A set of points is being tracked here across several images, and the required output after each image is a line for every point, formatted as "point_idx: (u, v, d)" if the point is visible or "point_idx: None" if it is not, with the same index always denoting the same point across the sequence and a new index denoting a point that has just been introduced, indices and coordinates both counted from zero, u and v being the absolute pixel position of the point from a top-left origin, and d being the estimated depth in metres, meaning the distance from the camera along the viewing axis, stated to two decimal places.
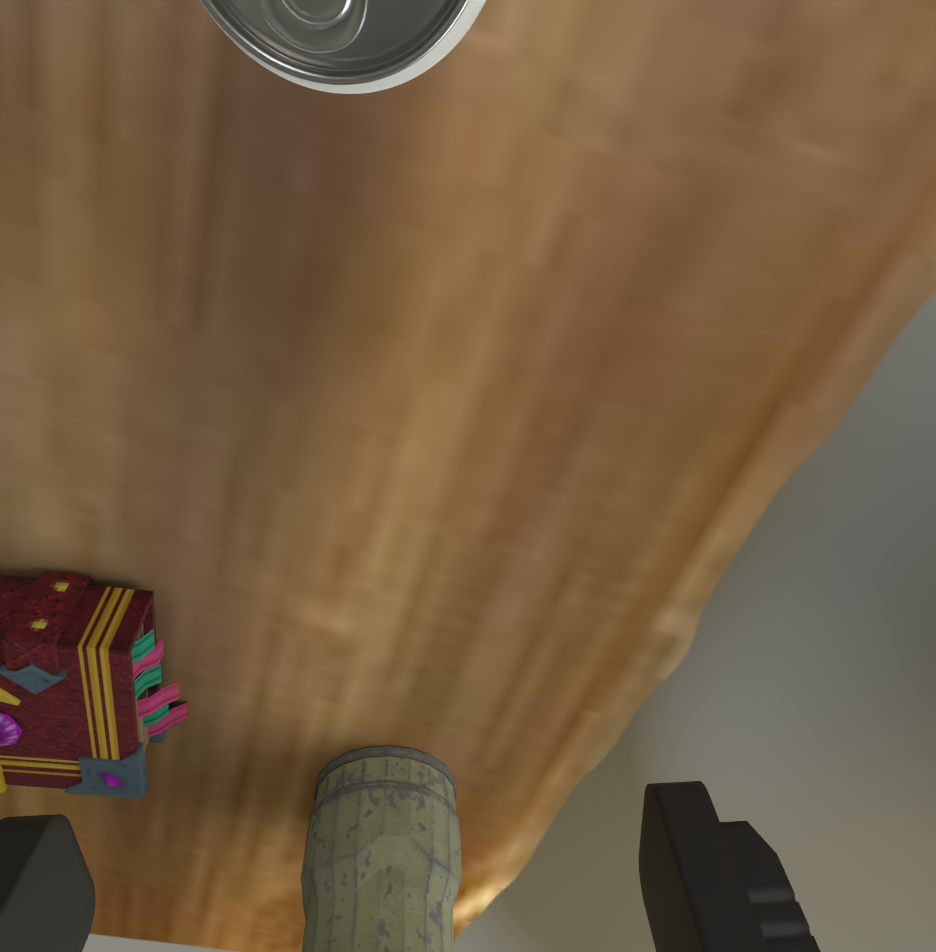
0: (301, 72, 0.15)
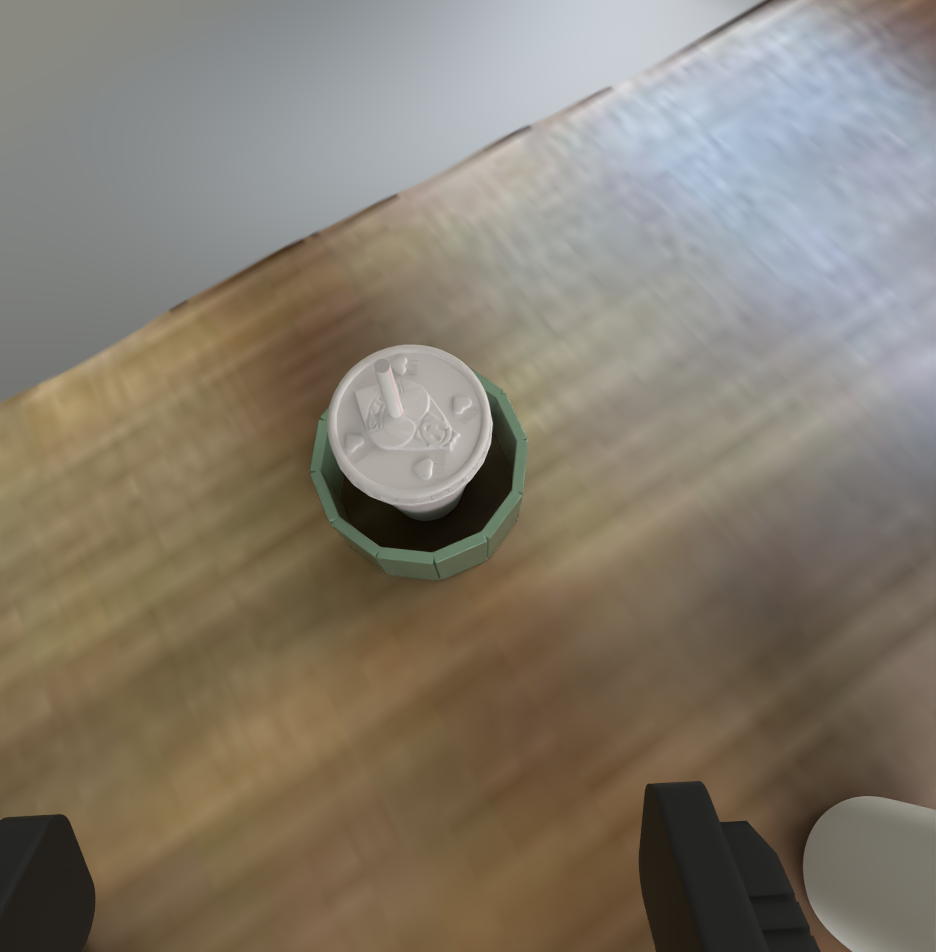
0: None
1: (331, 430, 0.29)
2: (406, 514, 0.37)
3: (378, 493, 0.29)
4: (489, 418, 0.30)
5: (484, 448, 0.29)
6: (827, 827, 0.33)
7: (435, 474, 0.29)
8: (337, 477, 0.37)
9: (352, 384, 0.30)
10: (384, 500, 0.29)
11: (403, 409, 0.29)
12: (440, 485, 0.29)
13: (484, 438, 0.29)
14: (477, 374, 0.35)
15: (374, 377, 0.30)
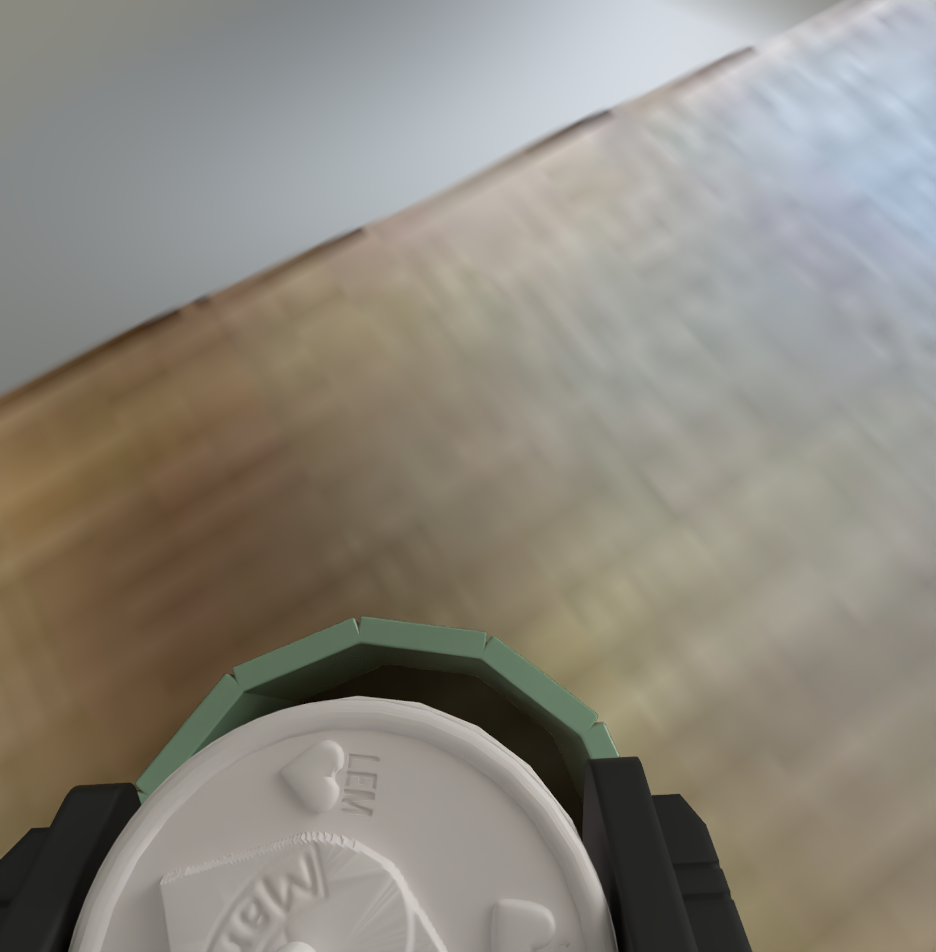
0: None
1: None
2: None
3: None
4: None
5: None
6: None
7: None
8: None
9: (159, 845, 0.09)
10: None
11: None
12: None
13: None
14: (534, 671, 0.14)
15: (234, 819, 0.09)
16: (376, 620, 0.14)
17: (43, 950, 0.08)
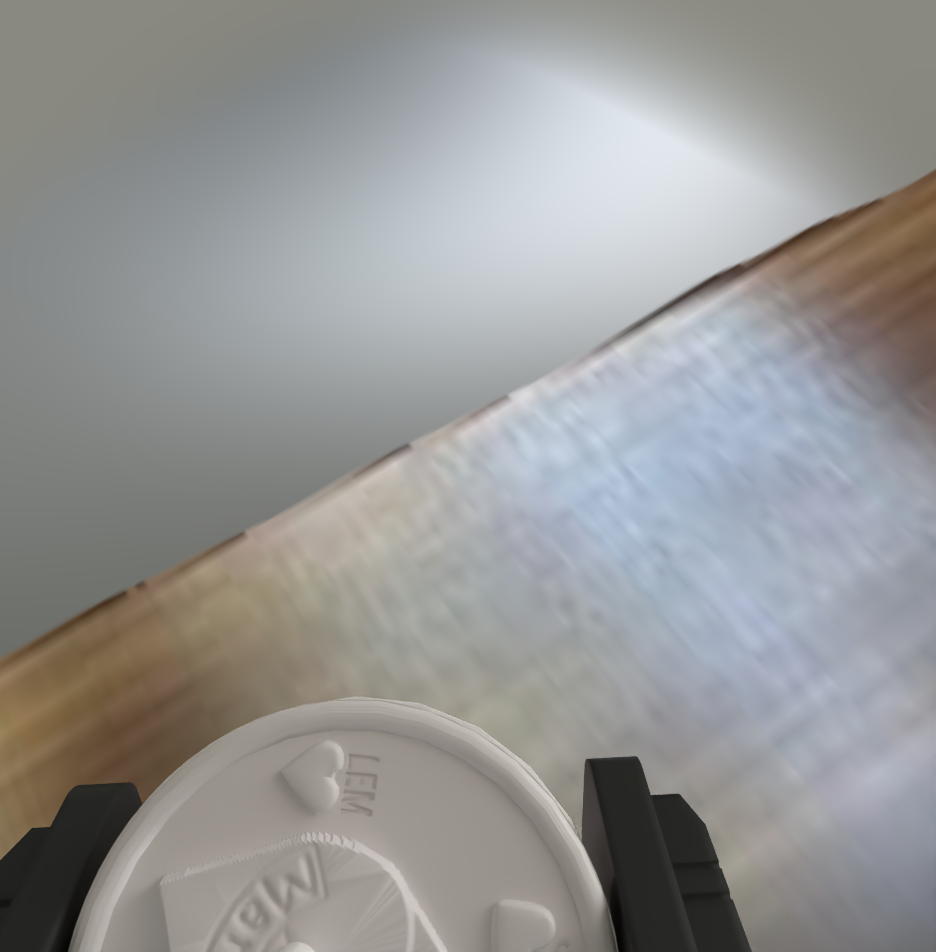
0: None
1: None
2: None
3: None
4: None
5: None
6: None
7: None
8: None
9: (159, 846, 0.09)
10: None
11: None
12: None
13: None
14: None
15: (234, 819, 0.09)
16: None
17: (44, 949, 0.08)
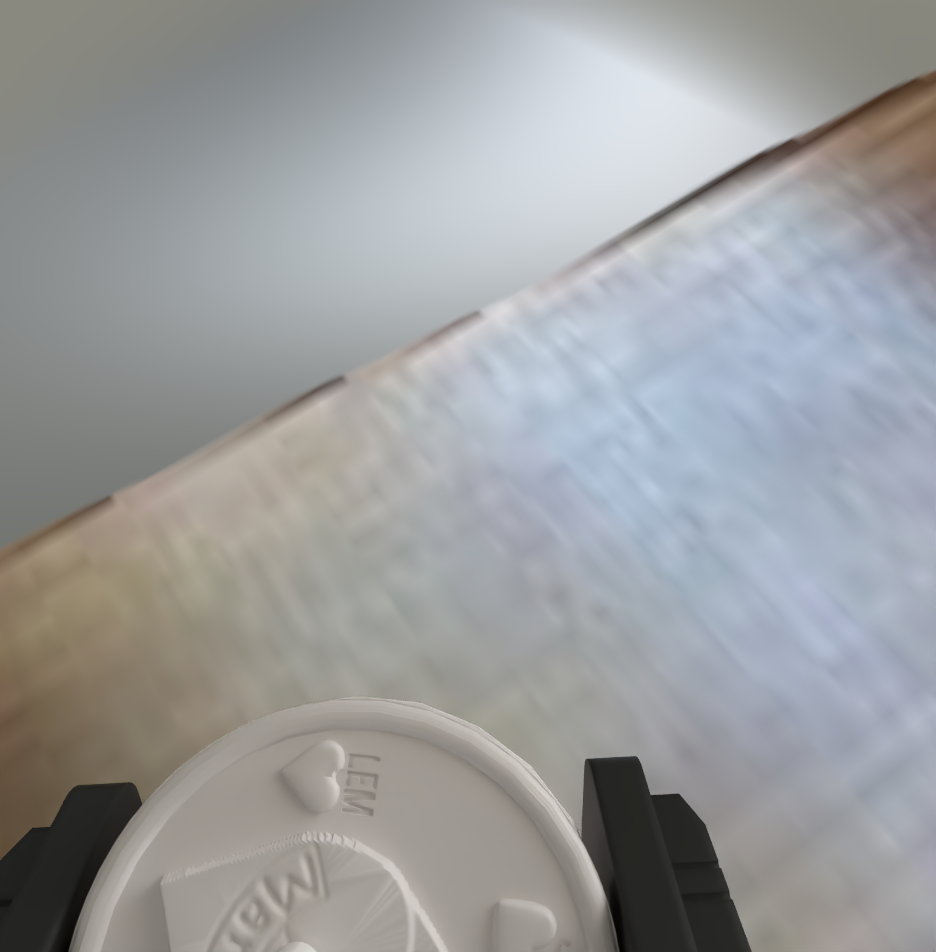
0: None
1: None
2: None
3: None
4: None
5: None
6: None
7: None
8: None
9: (159, 845, 0.09)
10: None
11: None
12: None
13: None
14: None
15: (235, 819, 0.09)
16: None
17: (44, 949, 0.08)
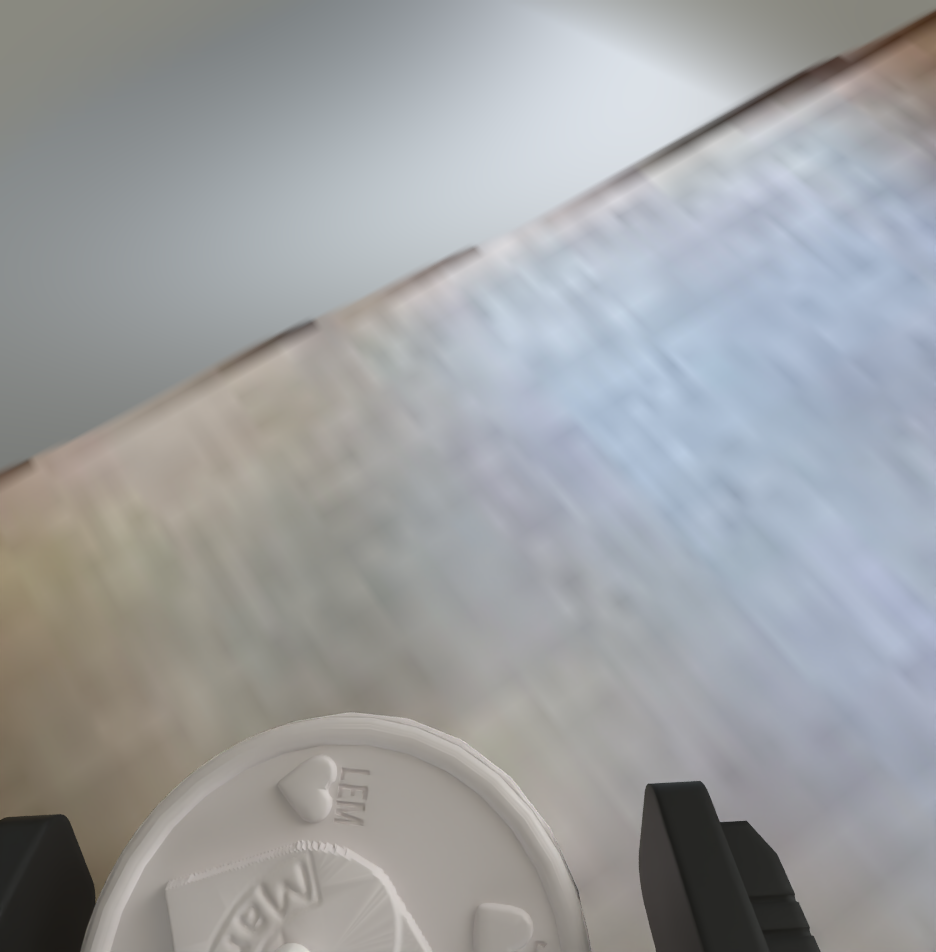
0: None
1: None
2: None
3: None
4: None
5: None
6: None
7: None
8: None
9: (164, 853, 0.10)
10: None
11: None
12: None
13: None
14: None
15: (234, 828, 0.10)
16: None
17: None
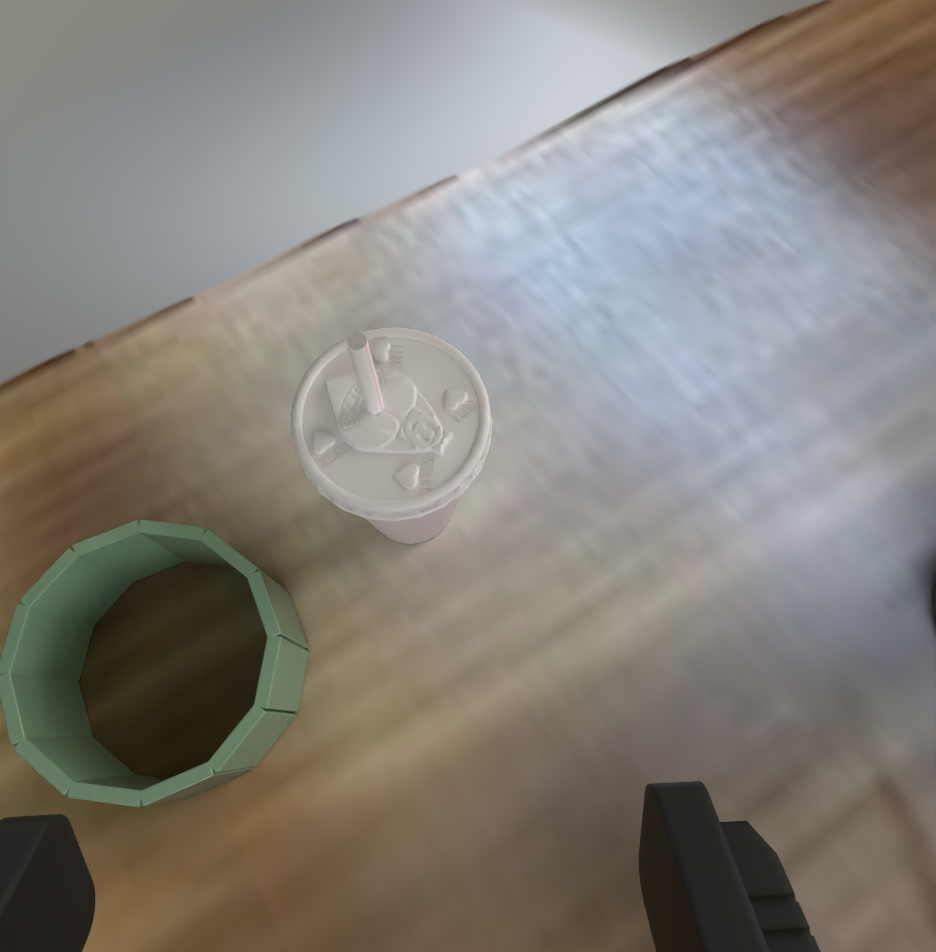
0: None
1: (295, 427, 0.24)
2: (387, 535, 0.31)
3: (351, 504, 0.23)
4: (488, 416, 0.24)
5: (482, 452, 0.24)
6: None
7: (421, 483, 0.24)
8: (66, 661, 0.30)
9: (323, 373, 0.25)
10: (358, 514, 0.24)
11: (384, 403, 0.24)
12: (427, 496, 0.23)
13: (482, 440, 0.24)
14: (226, 546, 0.28)
15: (350, 365, 0.25)
16: (148, 521, 0.28)
17: None
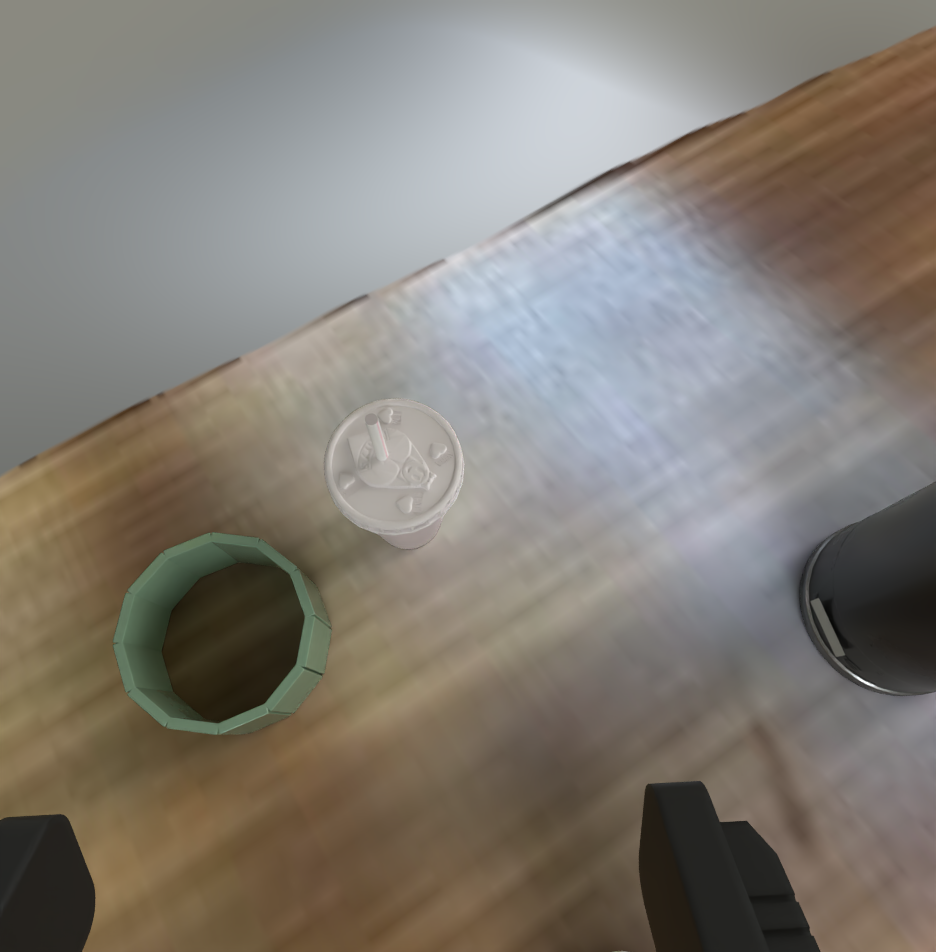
0: None
1: (327, 470, 0.35)
2: (390, 543, 0.42)
3: (366, 524, 0.34)
4: (461, 462, 0.35)
5: (456, 487, 0.35)
6: None
7: (414, 509, 0.34)
8: (154, 636, 0.40)
9: (346, 431, 0.35)
10: (371, 530, 0.35)
11: (388, 453, 0.35)
12: (418, 518, 0.34)
13: (456, 479, 0.35)
14: (274, 551, 0.38)
15: (364, 425, 0.35)
16: (217, 533, 0.39)
17: None
